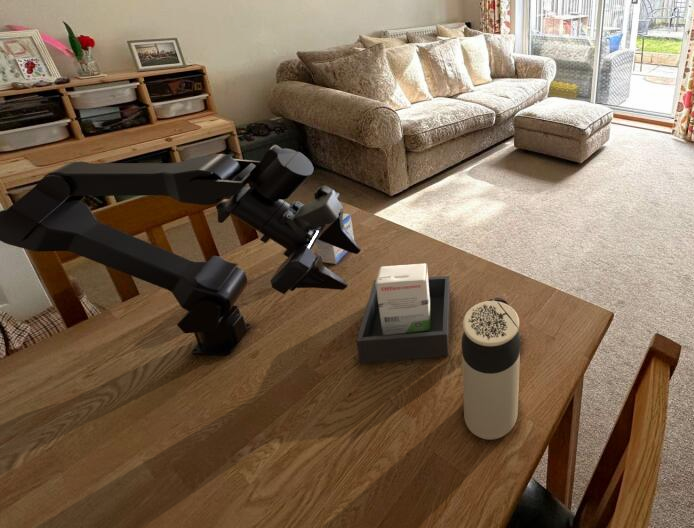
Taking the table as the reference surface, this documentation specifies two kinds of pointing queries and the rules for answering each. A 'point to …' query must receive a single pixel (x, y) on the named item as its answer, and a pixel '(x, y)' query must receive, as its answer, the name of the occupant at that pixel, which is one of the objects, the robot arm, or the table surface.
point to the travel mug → (490, 369)
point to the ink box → (404, 299)
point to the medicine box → (331, 252)
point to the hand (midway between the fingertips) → (352, 268)
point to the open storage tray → (407, 344)
